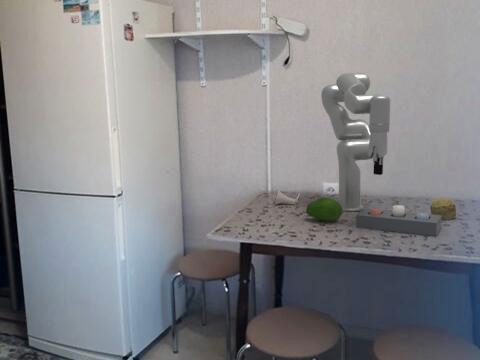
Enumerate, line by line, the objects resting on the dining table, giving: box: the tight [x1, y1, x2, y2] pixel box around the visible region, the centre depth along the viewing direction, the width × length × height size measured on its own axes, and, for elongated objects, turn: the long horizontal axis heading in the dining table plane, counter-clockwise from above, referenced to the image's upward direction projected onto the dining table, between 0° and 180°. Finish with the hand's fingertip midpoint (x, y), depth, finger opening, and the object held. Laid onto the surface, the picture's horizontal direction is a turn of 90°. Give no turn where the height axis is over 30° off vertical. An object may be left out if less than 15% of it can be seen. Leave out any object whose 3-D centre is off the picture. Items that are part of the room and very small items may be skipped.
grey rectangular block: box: [355, 207, 443, 237], centre depth 192 cm, size 30×12×5 cm, turn 59°
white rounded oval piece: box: [392, 204, 406, 217], centre depth 191 cm, size 4×4×5 cm
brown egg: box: [369, 207, 382, 215], centre depth 196 cm, size 4×4×5 cm
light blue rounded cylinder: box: [416, 212, 430, 220], centre depth 187 cm, size 4×4×5 cm
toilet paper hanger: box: [274, 189, 301, 206], centre depth 244 cm, size 23×10×8 cm, turn 168°
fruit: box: [305, 197, 344, 222], centre depth 205 cm, size 15×10×10 cm, turn 65°
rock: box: [429, 197, 457, 221], centre depth 204 cm, size 10×11×10 cm
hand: (378, 174), depth 194 cm, fingers closed
